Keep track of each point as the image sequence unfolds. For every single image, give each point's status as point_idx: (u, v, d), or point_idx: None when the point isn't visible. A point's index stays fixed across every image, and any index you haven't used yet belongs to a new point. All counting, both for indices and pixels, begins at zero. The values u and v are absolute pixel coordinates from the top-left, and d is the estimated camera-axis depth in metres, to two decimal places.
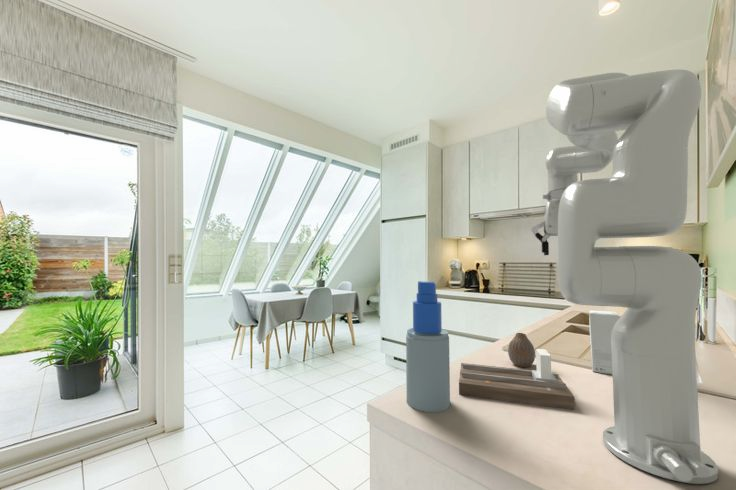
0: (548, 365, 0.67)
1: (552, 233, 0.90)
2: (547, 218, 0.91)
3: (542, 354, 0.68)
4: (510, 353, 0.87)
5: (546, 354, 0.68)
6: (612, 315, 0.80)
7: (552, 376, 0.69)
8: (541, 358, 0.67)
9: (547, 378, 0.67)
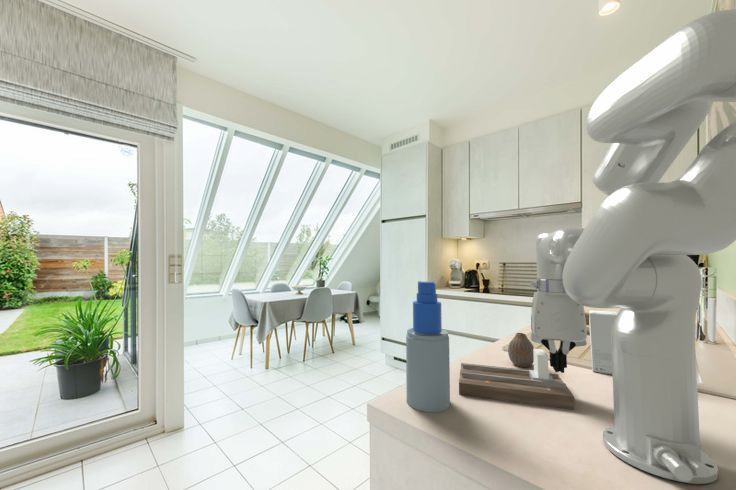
0: (545, 365, 0.67)
1: (541, 337, 0.68)
2: (535, 316, 0.68)
3: (539, 354, 0.68)
4: (510, 353, 0.87)
5: (543, 354, 0.68)
6: (612, 315, 0.80)
7: (549, 375, 0.69)
8: (538, 358, 0.68)
9: (544, 378, 0.67)
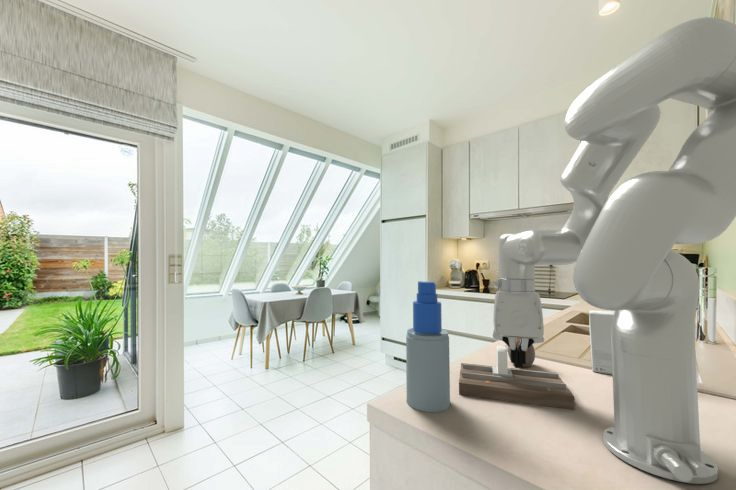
0: (505, 361, 0.70)
1: (501, 334, 0.70)
2: (495, 314, 0.71)
3: (499, 350, 0.71)
4: (510, 353, 0.87)
5: (503, 350, 0.71)
6: (612, 315, 0.80)
7: (509, 371, 0.71)
8: (498, 354, 0.70)
9: (504, 373, 0.70)
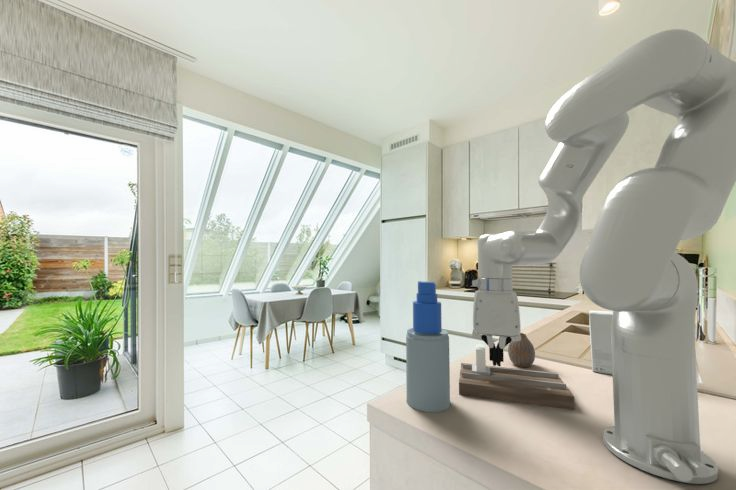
0: (483, 359, 0.71)
1: (479, 333, 0.72)
2: (474, 313, 0.72)
3: (478, 348, 0.72)
4: (510, 353, 0.87)
5: (482, 348, 0.72)
6: (612, 315, 0.80)
7: (488, 369, 0.73)
8: (477, 352, 0.72)
9: (482, 371, 0.71)
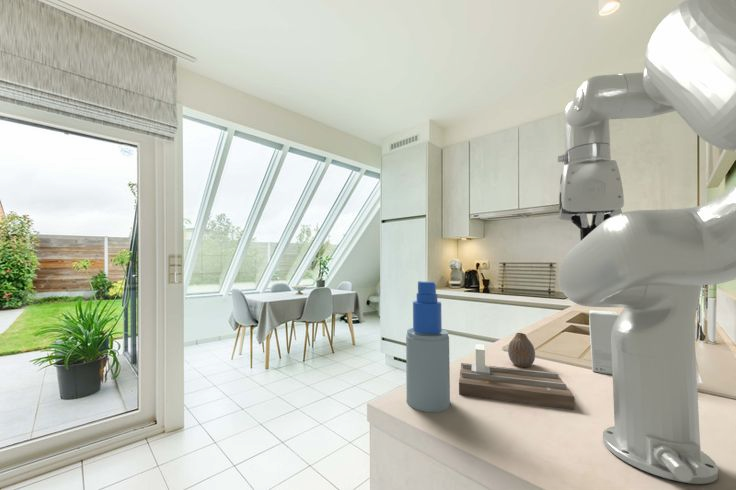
0: (482, 359, 0.71)
1: (572, 210, 0.62)
2: (565, 188, 0.62)
3: (478, 348, 0.72)
4: (510, 353, 0.87)
5: (481, 348, 0.72)
6: (612, 315, 0.80)
7: (487, 369, 0.73)
8: (476, 352, 0.72)
9: (481, 371, 0.71)
